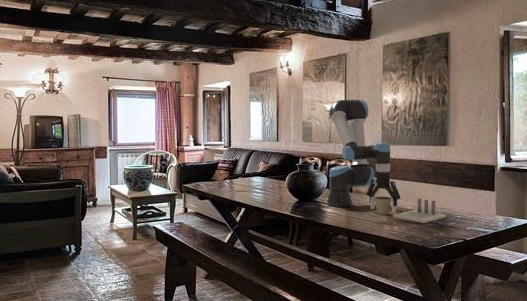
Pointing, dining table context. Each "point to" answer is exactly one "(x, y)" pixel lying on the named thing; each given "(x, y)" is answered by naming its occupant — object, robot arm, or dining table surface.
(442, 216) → the board
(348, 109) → the robot arm
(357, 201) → the dining table surface
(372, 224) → the dining table surface
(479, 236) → the dining table surface
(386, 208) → the flower pot
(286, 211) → the dining table surface
